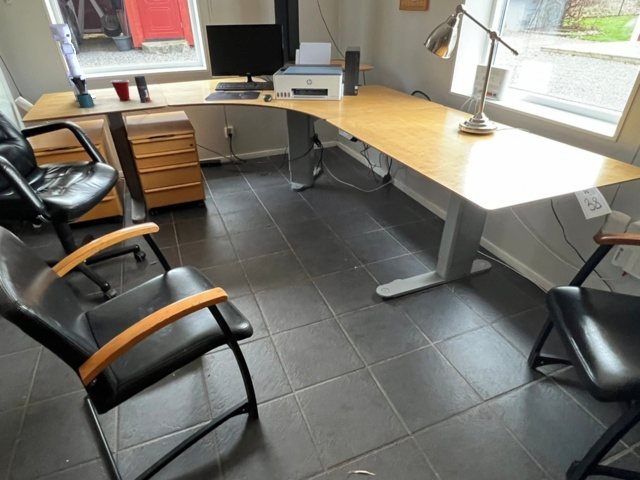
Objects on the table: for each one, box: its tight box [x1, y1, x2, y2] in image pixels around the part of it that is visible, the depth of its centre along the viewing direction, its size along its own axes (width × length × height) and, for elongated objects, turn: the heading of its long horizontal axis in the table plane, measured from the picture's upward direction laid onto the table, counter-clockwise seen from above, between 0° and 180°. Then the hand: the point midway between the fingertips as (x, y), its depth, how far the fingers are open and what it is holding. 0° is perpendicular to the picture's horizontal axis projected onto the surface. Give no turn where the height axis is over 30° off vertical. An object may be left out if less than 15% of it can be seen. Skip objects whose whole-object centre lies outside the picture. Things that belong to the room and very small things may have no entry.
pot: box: [76, 92, 97, 109], centre depth 236 cm, size 10×8×7 cm
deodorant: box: [134, 75, 152, 104], centre depth 241 cm, size 6×6×15 cm
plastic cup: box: [110, 79, 130, 102], centre depth 247 cm, size 11×11×12 cm
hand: (82, 90), depth 233 cm, fingers closed on block, 3 cm apart
